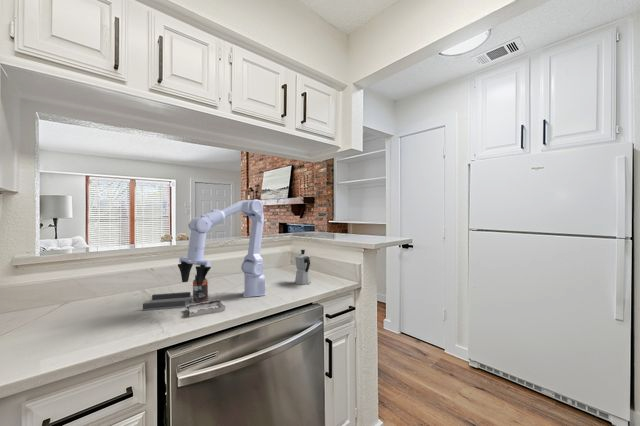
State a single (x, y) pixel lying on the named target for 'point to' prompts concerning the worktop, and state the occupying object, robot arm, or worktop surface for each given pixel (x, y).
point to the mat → (168, 301)
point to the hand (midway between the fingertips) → (192, 283)
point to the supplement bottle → (200, 291)
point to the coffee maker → (302, 269)
